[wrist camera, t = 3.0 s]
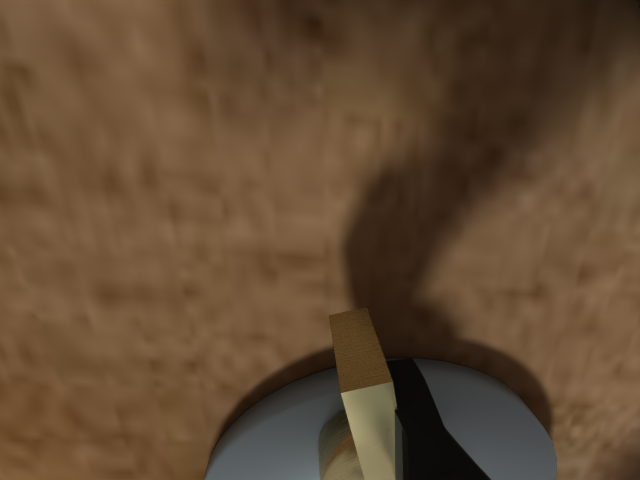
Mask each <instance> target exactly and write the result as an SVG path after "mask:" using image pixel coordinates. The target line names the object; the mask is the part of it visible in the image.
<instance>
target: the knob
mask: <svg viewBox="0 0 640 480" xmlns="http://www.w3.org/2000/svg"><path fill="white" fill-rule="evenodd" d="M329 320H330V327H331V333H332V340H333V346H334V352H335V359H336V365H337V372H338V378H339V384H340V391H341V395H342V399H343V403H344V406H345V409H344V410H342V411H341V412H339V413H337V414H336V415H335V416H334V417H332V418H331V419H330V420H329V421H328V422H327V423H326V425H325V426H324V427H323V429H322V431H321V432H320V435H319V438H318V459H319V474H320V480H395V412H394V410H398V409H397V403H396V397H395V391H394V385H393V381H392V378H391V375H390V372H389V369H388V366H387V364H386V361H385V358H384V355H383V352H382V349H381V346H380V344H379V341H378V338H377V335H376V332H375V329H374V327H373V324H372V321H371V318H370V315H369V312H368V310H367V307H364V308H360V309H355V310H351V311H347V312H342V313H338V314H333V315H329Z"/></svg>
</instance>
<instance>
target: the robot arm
mask: <svg viewBox="0 0 640 480" xmlns="http://www.w3.org/2000/svg"><path fill="white" fill-rule="evenodd" d="M386 364H387V366H388V369H389V372H390V375H391V378H392V381H393V385H394V391H395V397H396V403H397V409H398V410H394V412H395V480H491V479H490V478H489V477H488V475H487V474H486V473H485V472H484V471H483V470H482V469H481V468H480V467H479V466H478V465H477V464H476V463H475V461H474V460H473V459H472V458H471V457H470V456H469V455H468V454H467V452H466V451H465V450H464V449H463V448H462V447H461V446H460V445H459V443H458V442H457V441H456V440H455V439H454V438H453V436H452V435H451V434H450V433H449V432H448V431H447V429H446V428H445V427H444V424H443V422H442V419H441V417H440V414H439V412H438V409H437V407H436V404H435V402H434V399H433V397H432V395H431V392H430V390H429V387H428V385H427V382H426V380H425V378H424V376H423V375H422V373H421V371H420V369H419V368H418V366H417V365H416V363H415V362H414V360H413V359H412V358H407V359H399V360H391V361H386Z"/></svg>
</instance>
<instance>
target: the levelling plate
mask: <svg viewBox="0 0 640 480" xmlns="http://www.w3.org/2000/svg"><path fill="white" fill-rule="evenodd" d="M399 359H407V358H390V359H385V361H391V360H399ZM412 359H413V360H414V362H415V363H416V365H417V366H418V368H419V369H420V371H421V373H422V375H423V376H424V378H425V380H426V382H427V385H428V387H429V390H430V392H431V395H432V397H433V399H434V402H435V404H436V407H437V409H438V412H439V414H440V417H441V419H442V422H443V424H444V427H445V428H446V429H447V431H448V432H449V433H450V434H451V435H452V436H453V438H454V439H455V440H456V441H457V442H458V443H459V445H460V446H461V447H462V448H463V449H464V450H465V451H466V452H467V454H468V455H469V456H470V457H471V458H472V459H473V460H474V461H475V463H476V464H477V465H478V466H479V467H480V468H481V469H482V470H483V471H484V472H485V473H486V474H487V475H488V477H489V478H490V479H491V480H555V476H556V472H557V457H556V453H555V449H554V445H553V443H552V441H551V439H550V437H549V435H548V433H547V431H546V430H545V429H544V427H543V426H542V425H541V423H540V422H539V421H538V420H537V418H536V417H535V416H534V414H533V413H532V412H531V410H530V409H529V408H528V407H527V405H526V404H525V403H524V402H523V401H522V399H521V398H520V397H519V396H518V395H517V394H516V393H515V392H514V391H512V390H511V389H510V388H509V387H507V386H506V385H505V384H504V383H502V382H500V381H498V380H497V379H495V378H493V377H491V376H489V375H488V374H485V373H483V372H480V371H477V370H475V369H472V368H469V367H467V366H462V365H458V364H454V363H450V362H445V361H438V360H429V359H420V358H412ZM344 409H345V406H344V403H343V399H342V395H341V391H340V384H339V378H338V372H337V367H334V368H331V369H327V370H324V371H321V372H317V373H314V374H311V375H309V376H306V377H304V378H302V379H299V380H297V381H294V382H292V383H289V384H287V385H286V386H284V387H282V388H280V389H278V390H276V391H274V392H273V393H271V394H269V395H267V396H266V397H264V398H263V399H261V400H260V401H259V402H257V403H256V404H254V405H253V406H251V407H250V408H249V409H247V410H246V411H245V412H244V413H243V414H242V415H241V416H240V417H239V418H238V419H236V420H235V421H234V422H233V423H232V424H231V426H230V427H229V428H228V429H227V431H226V432H225V433H224V434H223V435H222V437H221V438H220V440H219V441H218V443H217V445H216V447H215V448H214V450H213V452H212V454H211V457H210V460H209V463H208V466H207V470H206V474H205V478H204V480H320V474H319V459H318V438H319V435H320V432H321V431H322V429H323V427H324V426H325V425H326V423H327V422H328V421H329V420H330V419H331V418H332V417H334V416H335V415H336V414H337V413H339V412H341V411H342V410H344Z"/></svg>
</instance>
